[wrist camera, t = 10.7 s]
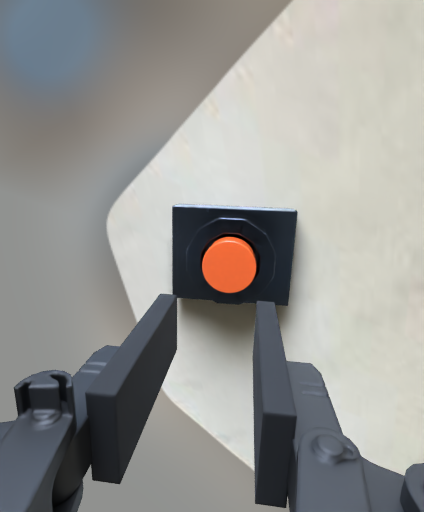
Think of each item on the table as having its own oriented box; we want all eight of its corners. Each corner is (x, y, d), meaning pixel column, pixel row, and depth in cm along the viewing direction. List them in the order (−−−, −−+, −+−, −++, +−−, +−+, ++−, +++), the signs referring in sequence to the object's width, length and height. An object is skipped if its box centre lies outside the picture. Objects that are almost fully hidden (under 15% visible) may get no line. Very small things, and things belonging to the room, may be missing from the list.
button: (204, 283, 25) (201, 291, 23) (205, 235, 24) (202, 239, 22) (254, 287, 25) (254, 295, 23) (257, 237, 24) (258, 242, 22)
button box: (177, 288, 29) (167, 305, 25) (178, 203, 27) (166, 208, 23) (285, 296, 28) (290, 315, 24) (293, 208, 26) (301, 214, 22)
